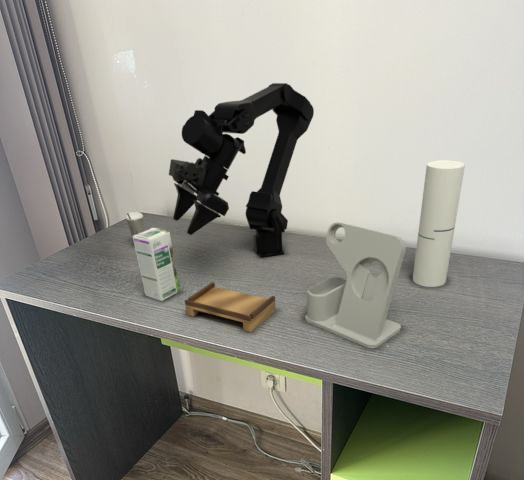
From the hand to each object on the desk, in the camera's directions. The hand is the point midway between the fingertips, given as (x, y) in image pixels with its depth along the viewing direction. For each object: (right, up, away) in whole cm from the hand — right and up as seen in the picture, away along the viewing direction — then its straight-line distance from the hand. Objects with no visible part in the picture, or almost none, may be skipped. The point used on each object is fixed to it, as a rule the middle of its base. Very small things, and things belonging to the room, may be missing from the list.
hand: (181, 226), depth 110 cm
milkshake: (-17, +2, +30) cm, 34 cm away
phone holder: (+35, -22, -13) cm, 44 cm away
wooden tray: (+11, -20, -7) cm, 24 cm away
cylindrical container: (+55, -12, +1) cm, 57 cm away
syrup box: (-5, -15, +3) cm, 16 cm away
